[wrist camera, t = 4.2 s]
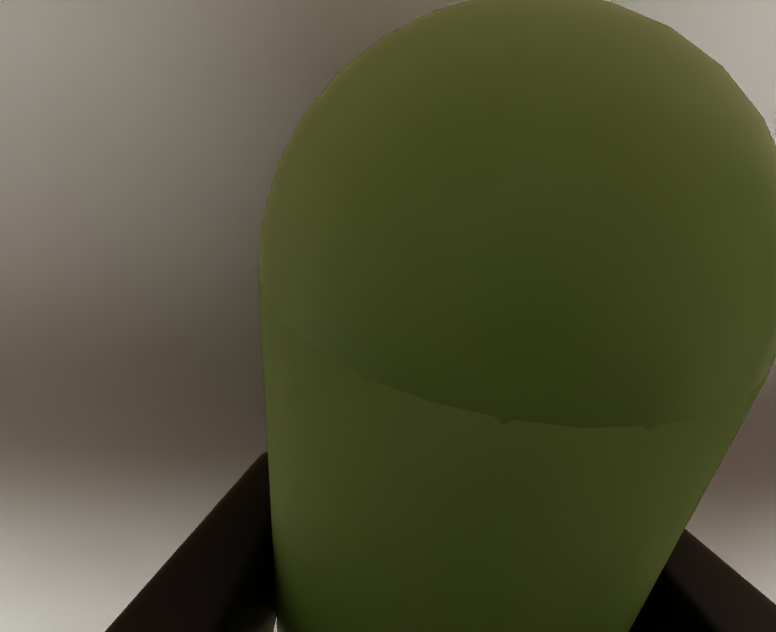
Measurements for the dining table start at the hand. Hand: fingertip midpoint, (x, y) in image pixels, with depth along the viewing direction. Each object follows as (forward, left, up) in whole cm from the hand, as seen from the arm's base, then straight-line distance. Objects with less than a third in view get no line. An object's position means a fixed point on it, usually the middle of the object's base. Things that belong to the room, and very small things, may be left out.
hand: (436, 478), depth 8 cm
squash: (0, 0, -1) cm, 1 cm away
